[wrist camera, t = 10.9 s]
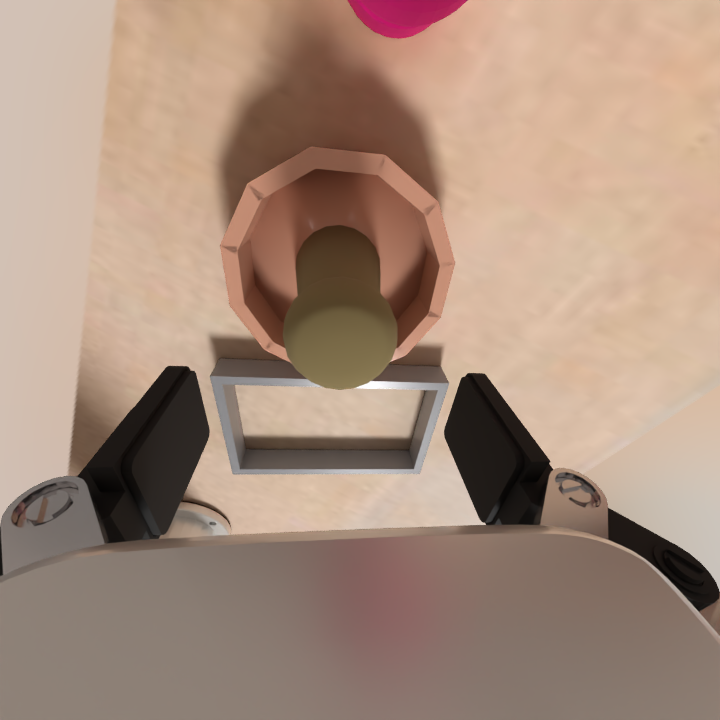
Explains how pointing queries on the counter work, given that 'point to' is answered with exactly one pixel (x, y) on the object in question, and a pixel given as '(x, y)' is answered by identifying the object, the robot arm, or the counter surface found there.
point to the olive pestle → (339, 311)
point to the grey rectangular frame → (324, 460)
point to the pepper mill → (402, 14)
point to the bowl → (328, 208)
